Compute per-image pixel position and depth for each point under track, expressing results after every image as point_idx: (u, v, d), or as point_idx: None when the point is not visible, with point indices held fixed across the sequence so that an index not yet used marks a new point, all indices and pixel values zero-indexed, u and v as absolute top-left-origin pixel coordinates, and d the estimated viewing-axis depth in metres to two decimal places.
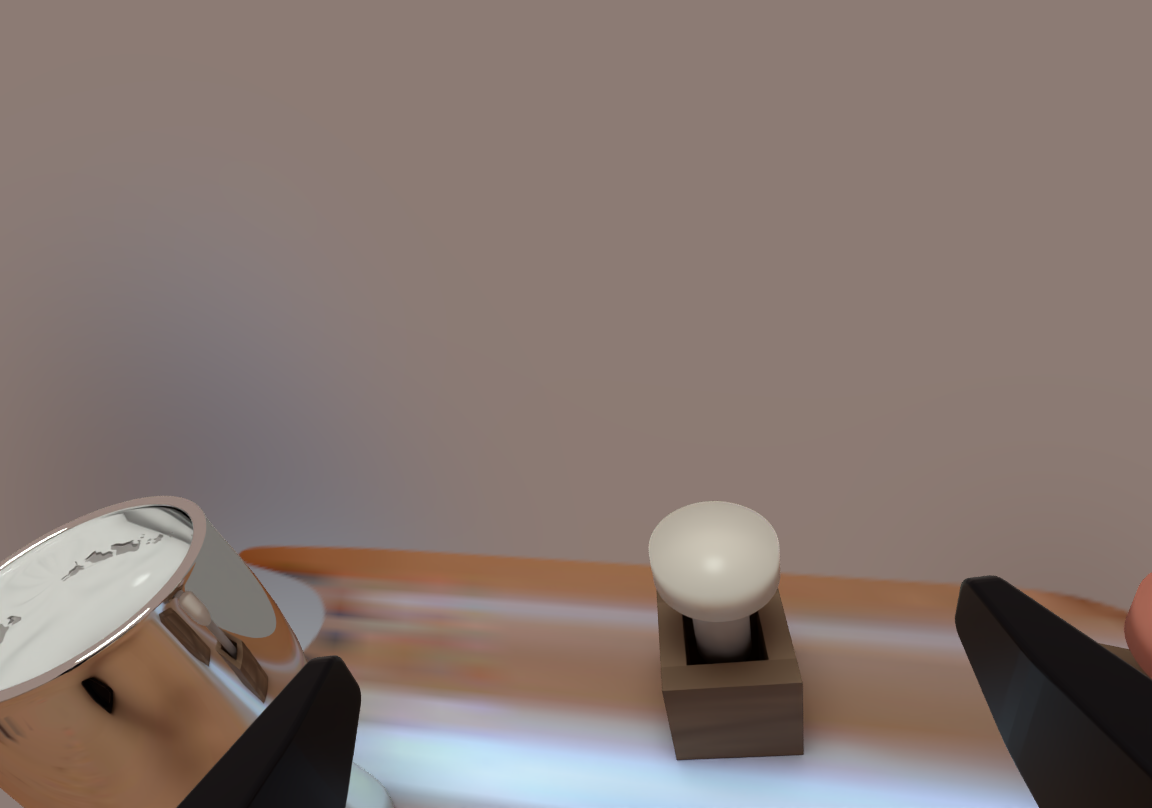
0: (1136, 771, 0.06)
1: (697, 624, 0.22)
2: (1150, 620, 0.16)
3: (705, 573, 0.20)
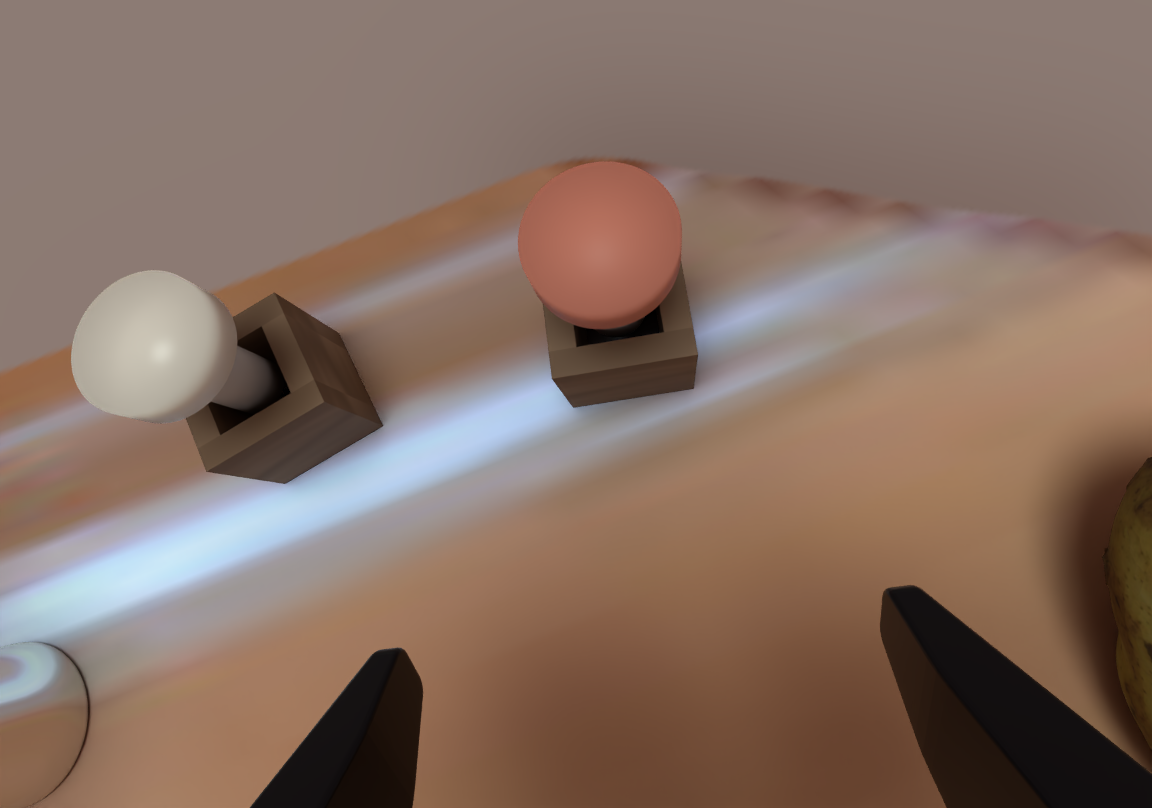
0: (1019, 781, 0.06)
1: None
2: (527, 260, 0.16)
3: (141, 382, 0.17)
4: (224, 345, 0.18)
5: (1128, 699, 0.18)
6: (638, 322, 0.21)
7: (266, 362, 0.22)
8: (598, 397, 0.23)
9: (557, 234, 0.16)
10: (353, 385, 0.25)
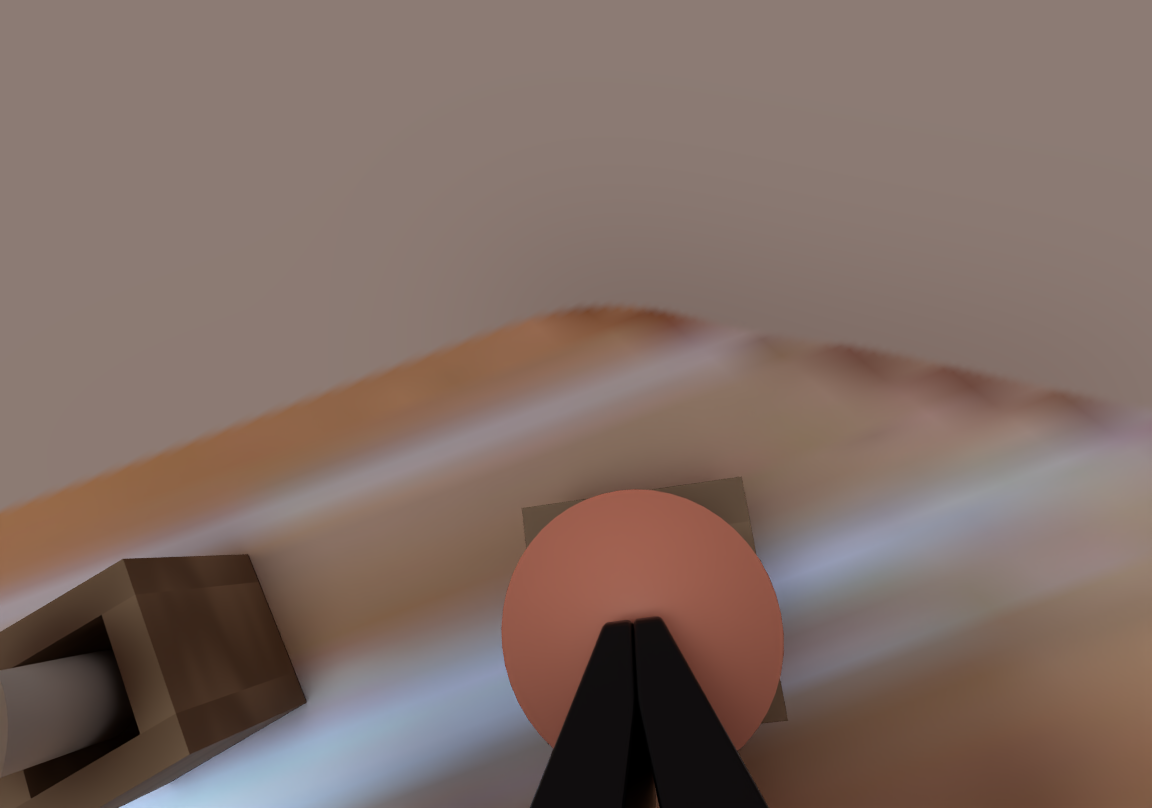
0: None
1: None
2: (517, 667, 0.10)
3: None
4: None
5: None
6: None
7: (107, 673, 0.14)
8: None
9: (568, 622, 0.10)
10: (260, 654, 0.17)
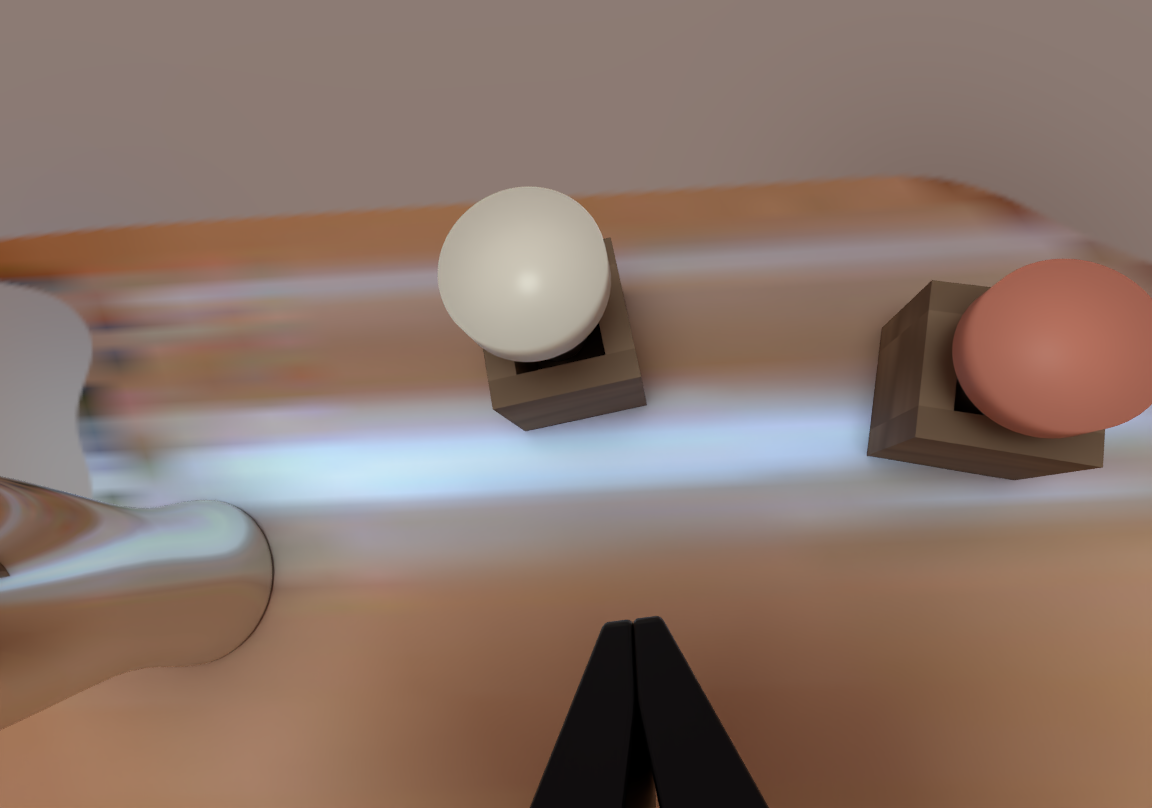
0: None
1: None
2: (981, 343, 0.15)
3: (514, 313, 0.15)
4: (604, 297, 0.16)
5: None
6: None
7: None
8: (911, 457, 0.20)
9: (1023, 326, 0.15)
10: None
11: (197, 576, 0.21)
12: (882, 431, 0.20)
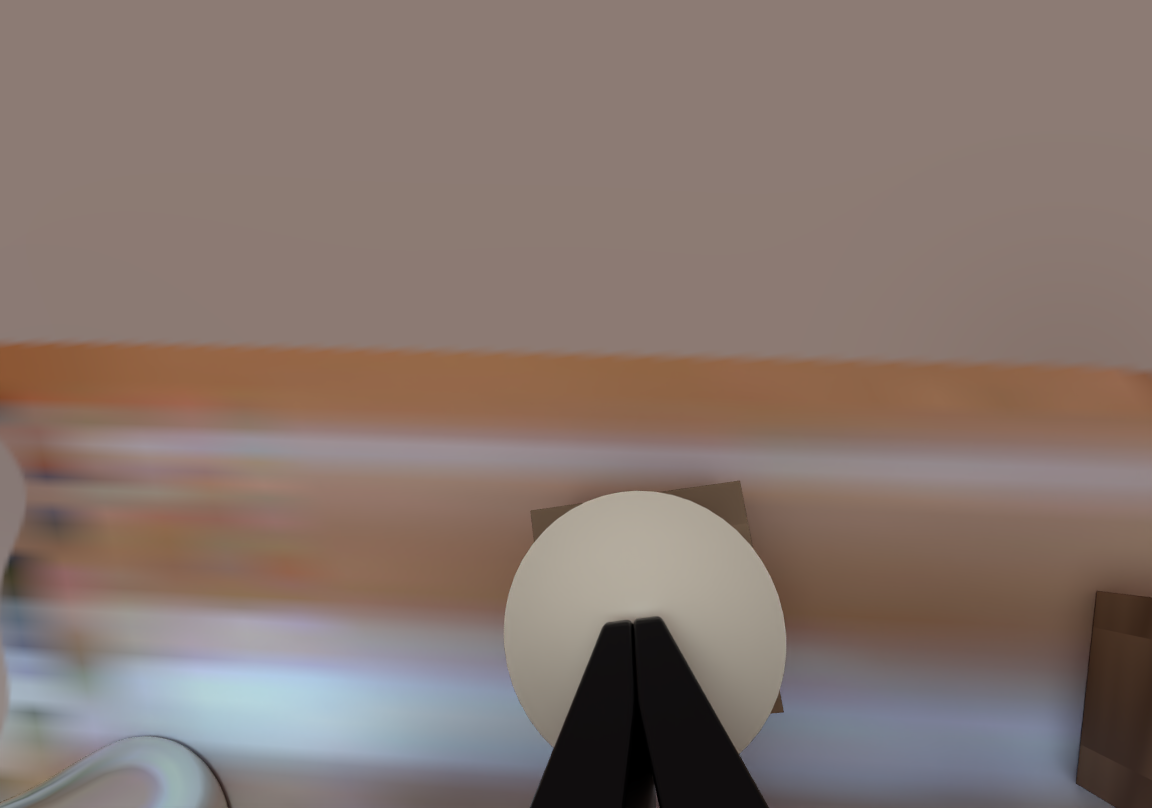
0: None
1: None
2: None
3: None
4: None
5: None
6: None
7: None
8: None
9: None
10: None
11: None
12: (1119, 777, 0.14)
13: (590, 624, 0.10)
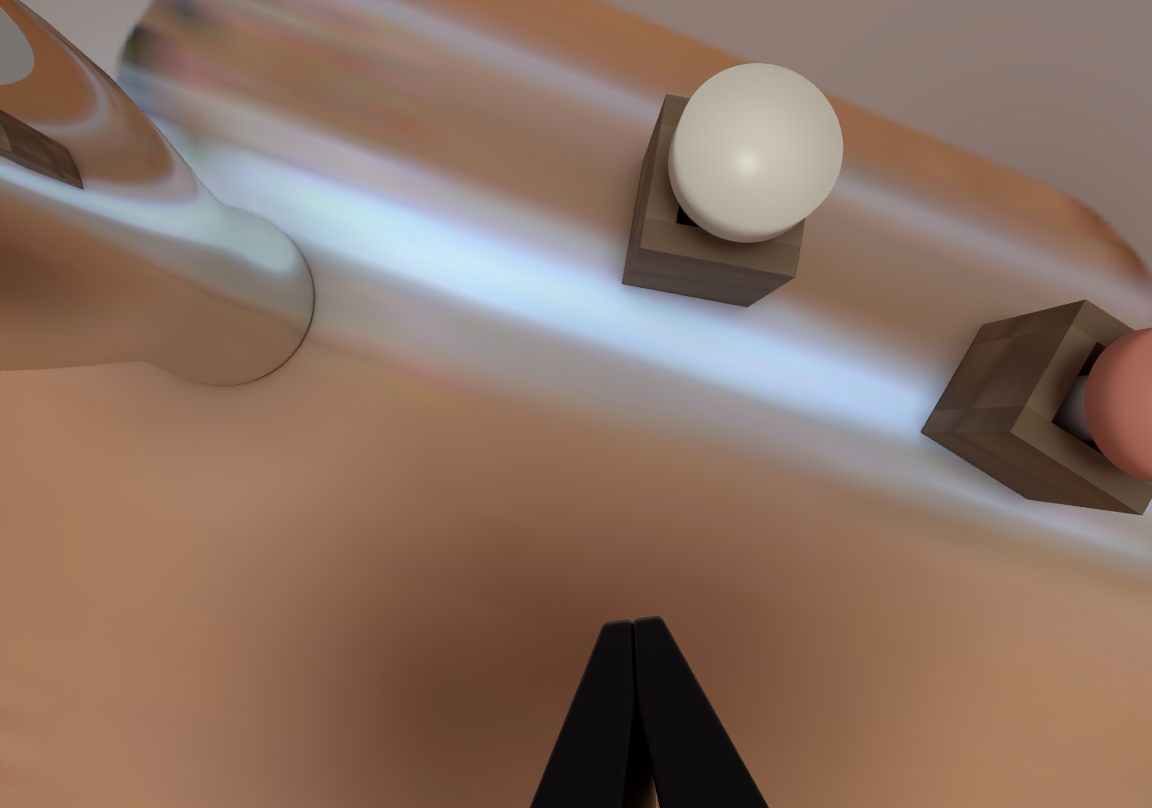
0: None
1: None
2: (1135, 373, 0.16)
3: (739, 188, 0.16)
4: None
5: None
6: None
7: None
8: (964, 448, 0.22)
9: None
10: None
11: (255, 292, 0.18)
12: (954, 416, 0.21)
13: (733, 132, 0.16)
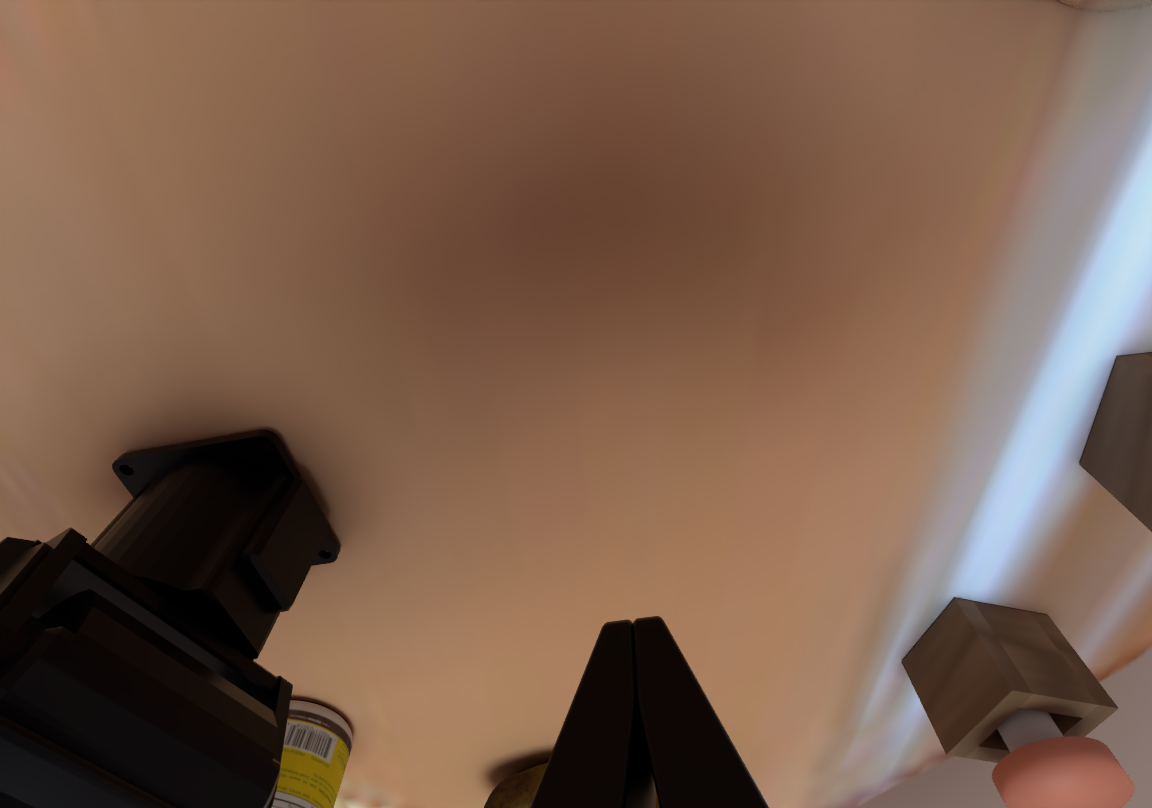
0: None
1: None
2: (1097, 772, 0.22)
3: None
4: None
5: None
6: None
7: None
8: (951, 632, 0.27)
9: (1095, 787, 0.23)
10: None
11: None
12: (984, 627, 0.26)
13: None
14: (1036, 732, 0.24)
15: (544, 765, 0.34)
